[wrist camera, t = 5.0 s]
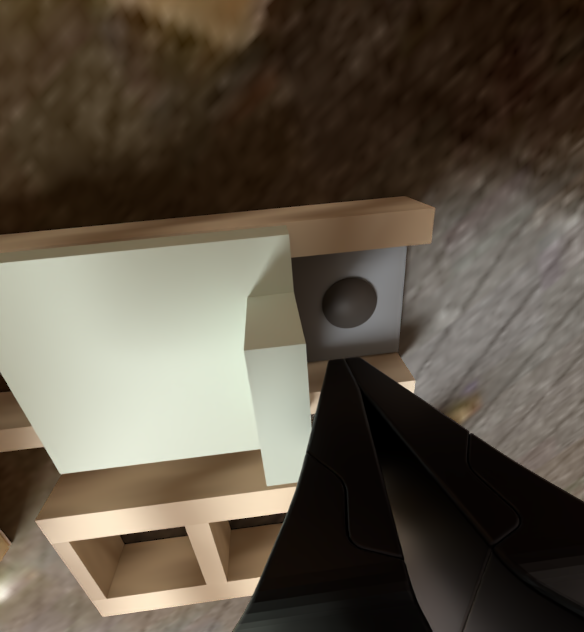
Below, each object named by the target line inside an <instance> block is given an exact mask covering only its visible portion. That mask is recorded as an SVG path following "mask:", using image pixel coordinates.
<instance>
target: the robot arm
mask: <svg viewBox="0 0 584 632" xmlns="http://www.w3.org/2000/svg"><path fill="white" fill-rule="evenodd" d="M232 632H584V502H583V501H582V500H580V499H578V498H576V497H575V496H573V495H571V494H569V493H568V492H566V491H564V490H562V489H561V488H559V487H557V486H556V485H554V484H552V483H550V482H549V481H547V480H545V479H543V478H542V477H540V476H538V475H537V474H535V473H533V472H532V471H530V470H528V469H527V468H525V467H523V466H522V465H520V464H518V463H517V462H515V461H513V460H512V459H510V458H509V457H507V456H506V455H504V454H503V453H501V452H500V451H498V450H497V449H495V448H493V447H492V446H490V445H489V444H487V443H486V442H484V441H483V440H481V439H480V438H479V437H477V436H476V435H474V434H472V433H470V434H469V431H468V430H467V429H465V428H464V427H462V426H461V425H459V424H458V423H456V422H455V421H453V420H452V419H450V418H449V417H447V416H446V415H445V414H443V413H442V412H440V411H439V410H437V409H436V408H434V407H433V406H431V405H430V404H428V403H427V402H425V401H424V400H422V399H421V398H420V397H418V396H417V395H415V394H414V393H412V392H411V391H409V390H408V389H406V388H405V387H403V386H402V385H400V384H399V383H397V382H396V381H395V380H393V379H392V378H390V377H389V376H387V375H386V374H384V373H383V372H381V371H380V370H378V369H377V368H375V367H374V366H373V365H371V364H370V363H368V362H367V361H365V360H364V359H362V358H361V357H350V358H345V359H333V360H329V361H328V364H327V368H326V372H325V376H324V380H323V384H322V388H321V392H320V396H319V401H318V405H317V409H316V413H315V417H314V421H313V425H312V429H311V433H310V437H309V441H308V445H307V450H306V455H305V457H304V461H303V465H302V469H301V472H300V476H299V479H298V483H297V486H296V490H295V492H294V495H293V498H292V501H291V503H290V506H289V509H288V511H287V514H286V517H285V519H284V521H283V524H282V526H281V529H280V531H279V534H278V536H277V538H276V541H275V543H274V546H273V548H272V550H271V553H270V555H269V558H268V560H267V563H266V565H265V567H264V570H263V572H262V575H261V577H260V579H259V582H258V584H257V586H256V588H255V591H254V593H253V595H252V597H251V599H250V601H249V603H248V605H247V607H246V609H245V611H244V613H243V615H242V617H241V618H240V620H239V622H238V623H237V625H236V626H235V628H234V629H233V631H232Z"/></svg>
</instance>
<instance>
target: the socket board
mask: <svg viewBox="0 0 584 632" xmlns="http://www.w3.org/2000/svg"><path fill="white" fill-rule="evenodd" d="M297 483H298V482H296V483H289V484H281V485H274V486H267V484H266V478H265V472H264V467H263V461H262V455H261V449H257V450H249V451H241V452H233V453H225V454H217V455H209V456H201V457H194V458H186V459H178V460H170V461H162V462H154V463H146V464H138V465H130V466H122V467H114V468H106V469H98V470H90V471H82V472H74V473H66V474H62V475H61V477H60V478H59V480H58V482H57V483H56V485H55V487H54V489H53V490H52V492H51V494H50V495H49V497H48V499H47V501H46V502H45V504H44V506H43V507H42V509H41V511H40V512H39V514H38V516H37V518H36V519H35V522H36V523H37V525H38V526H39V528H40V529H41V530H42V532H43V533H44V535H45V536H46V537H47V539H48V540H49V542H50V543H51V544H52V546H53V547H54V549H55V550H56V551H57V553H58V554H59V556H60V557H61V559H62V560H63V561H64V563H65V564H66V566H67V567H68V568H69V570H70V571H71V573H72V574H73V575H74V577H75V578H76V580H77V581H78V582H79V584H80V585H81V587H82V588H83V590H84V591H85V592H86V594H87V595H88V597H89V598H90V599H91V601H92V602H93V604H94V605H95V606H96V608H97V609H98V611H99V612H100V614H101V615H102V616H103V617H105V616H112V615H119V614H126V613H133V612H140V611H147V610H154V609H161V608H168V607H174V606H181V605H188V604H195V603H202V602H209V601H216V600H223V599H230V598H237V597H244V596H251V595H253V593H254V591H255V588H256V586H257V584H258V582H259V579H260V577H261V575H262V572H263V570H264V567H265V565H266V563H267V560H268V558H269V555H270V553H271V550H272V548H273V546H274V543H275V541H276V538H277V536H278V534H279V531H280V529H281V526H282V524H283V523H279V524H271V525H264V526H257V527H249V528H242V529H235V530H231V529H230V525H229V521H228V520H234V519H241V518H249V517H256V516H264V515H271V514H279V513H286V512H287V511H288V509H289V506H290V503H291V501H292V498H293V495H294V492H295V490H296V486H297ZM182 526H185V528H186V531H187V534H188V536H183V537H175V538H168V539H161V540H153V541H146V542H138V543H131V544H124V543H123V541H122V539H121V537H120V535H122V534H129V533H137V532H144V531H152V530H159V529H167V528H174V527H182Z"/></svg>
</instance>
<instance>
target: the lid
mask: <svg viewBox="0 0 584 632" xmlns="http://www.w3.org/2000/svg"><path fill="white" fill-rule="evenodd" d="M0 373H1V374H2V376H3V378H4V379H5V381H6V383H7V384H8V386H9V388H10V390H11V391H12V393H13V395H14V396H15V398H16V400H17V401H18V403H19V405H20V407H21V408H22V410H23V412H24V413H25V415H26V417H27V418H28V420H29V422H30V423H31V425H32V427H33V429H34V430H35V432H36V434H37V435H38V437H39V439H40V440H41V442H42V444H43V446H44V447H45V449H46V451H47V452H48V454H49V456H50V457H51V459H52V461H53V463H54V464H55V466H56V468H57V469H58V471H59V473H60V474H66V473H74V472H82V471H90V470H98V469H106V468H114V467H122V466H130V465H138V464H146V463H154V462H162V461H170V460H178V459H186V458H194V457H201V456H209V455H217V454H225V453H233V452H241V451H249V450H257V449H261V455H262V461H263V467H264V472H265V478H266V484H267V486H274V485H281V484H289V483H296V482H298V479H299V476H300V472H301V469H302V465H303V461H304V457H305V455H306V450H307V445H308V441H309V437H310V433H311V429H312V427H311V412H310V398H309V383H308V369H307V354H306V343H305V338H304V334H303V330H302V325H301V321H300V317H299V312H298V308H297V304H296V300H295V295H294V289H293V276H292V264H291V252H290V240H289V233H288V230H287V227H286V225H281V226H271V227H261V228H251V229H241V230H230V231H220V232H210V233H200V234H190V235H180V236H169V237H159V238H149V239H139V240H129V241H119V242H108V243H98V244H88V245H78V246H68V247H57V248H47V249H37V250H27V251H17V252H7V253H0Z"/></svg>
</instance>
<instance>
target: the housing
mask: <svg viewBox="0 0 584 632" xmlns="http://www.w3.org/2000/svg"><path fill="white" fill-rule="evenodd" d="M434 214H435V208H434V207H432V206H429V205H427V204H424V203H421V202H419V201H416V200H414V199H411V198H409V197H406V196H400V197H389V198H379V199H369V200H358V201H348V202H337V203H327V204H317V205H306V206H296V207H285V208H275V209H265V210H254V211H244V212H233V213H223V214H213V215H202V216H192V217H181V218H171V219H161V220H150V221H140V222H129V223H119V224H109V225H98V226H88V227H77V228H67V229H57V230H46V231H36V232H25V233H15V234H5V235H0V253H7V252H17V251H27V250H37V249H47V248H57V247H68V246H78V245H88V244H98V243H108V242H119V241H129V240H139V239H149V238H159V237H169V236H180V235H190V234H200V233H210V232H220V231H230V230H241V229H251V228H261V227H271V226H281V225H286V227H287V230H288V233H289V240H290V252H291V264H292V276H293V289H294V295H295V300H296V304H297V308H298V312H299V317H300V321H301V325H302V330H303V334H304V338H305V343H306V354H307V369H308V383H309V398H310V412H311V414H315V413H316V409H317V405H318V401H319V396H320V392H321V388H322V384H323V380H324V376H325V372H326V368H327V364H328V361H329V360H333V359H345V358H350V357H361V358H362V359H364V360H365V361H367V362H368V363H370V364H371V365H373V366H374V367H375V368H377V369H378V370H380V371H381V372H383V373H384V374H386V375H387V376H389V377H390V378H392V379H393V380H395V381H396V382H397V383H399V384H400V385H402V386H403V387H405V388H406V389H408V390H409V391H411V392H412V393H414V388H415V379H414V378H413V376H412V374H411V373H410V371H409V370H408V368H407V367H406V365H405V364H404V362H403V361H402V359H401V358H400V356H399V354H398V353H397V352H398V350H399V337H400V325H401V313H402V301H403V288H404V276H405V264H406V252H407V246H410V245H420V244H430V243H431V240H432V231H433V223H434ZM39 447H44V446H43V444H42V442H41V440H40V439H39V437H38V435H37V434H36V432H35V430H34V429H33V427H32V425H31V423H30V422H29V420H28V418H27V417H26V415H25V413H24V412H23V410H22V408H21V407H20V405H19V403H18V401H17V400H16V398H15V396H14V395H13V393H12V391H9V392H0V452H6V451H14V450H22V449H30V448H39Z"/></svg>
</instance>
